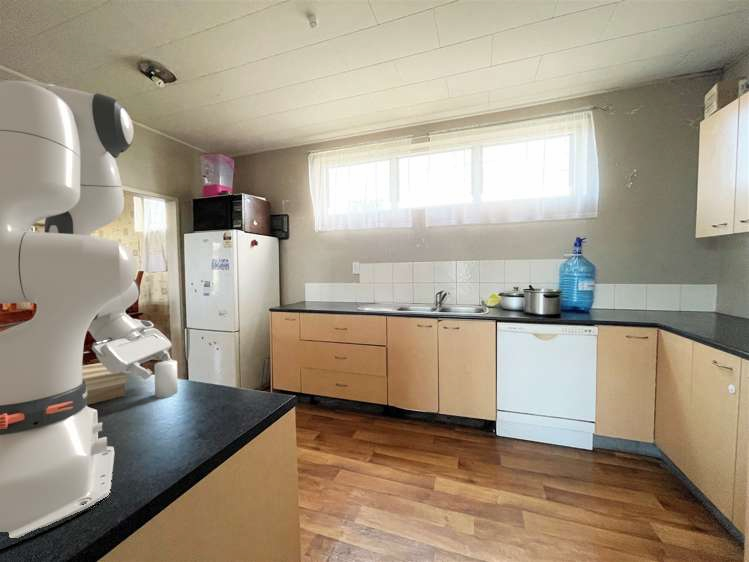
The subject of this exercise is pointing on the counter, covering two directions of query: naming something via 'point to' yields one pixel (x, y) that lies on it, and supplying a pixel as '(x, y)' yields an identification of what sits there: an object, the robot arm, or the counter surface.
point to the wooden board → (102, 383)
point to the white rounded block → (166, 378)
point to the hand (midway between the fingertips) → (160, 370)
